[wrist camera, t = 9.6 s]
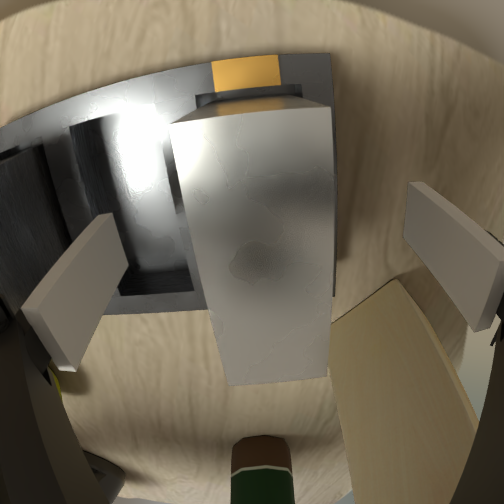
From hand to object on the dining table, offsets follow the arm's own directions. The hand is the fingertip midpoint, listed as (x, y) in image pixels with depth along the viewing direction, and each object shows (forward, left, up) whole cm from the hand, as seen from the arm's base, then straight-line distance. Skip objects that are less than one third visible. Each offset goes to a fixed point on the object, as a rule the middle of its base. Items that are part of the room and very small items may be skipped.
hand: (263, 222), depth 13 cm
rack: (-7, 0, -7) cm, 10 cm away
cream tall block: (+9, -14, -7) cm, 18 cm away
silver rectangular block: (0, 0, -6) cm, 6 cm away
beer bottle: (-3, -35, -7) cm, 36 cm away
